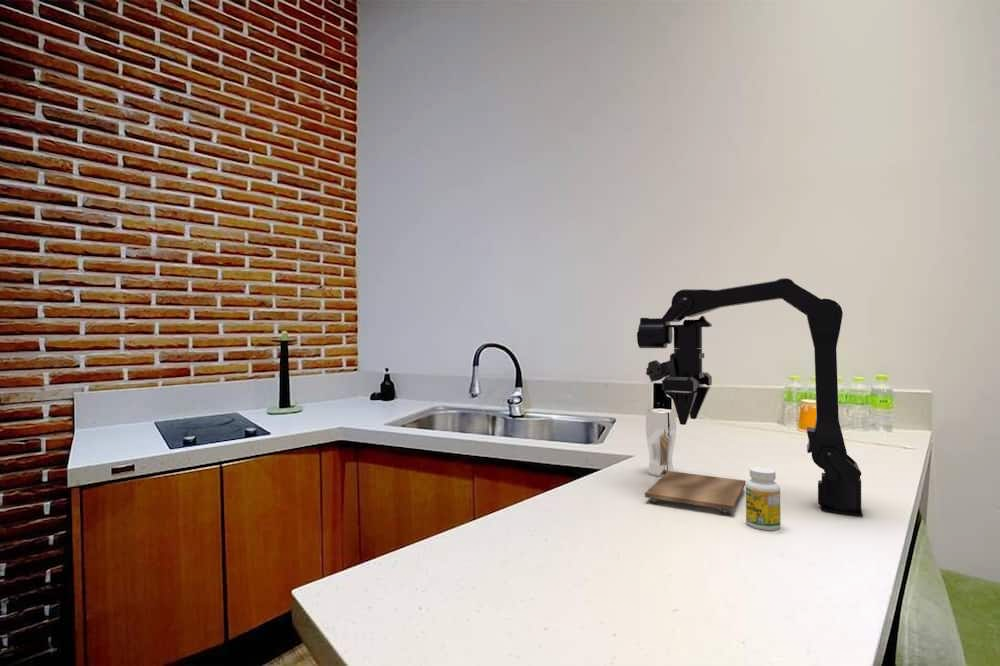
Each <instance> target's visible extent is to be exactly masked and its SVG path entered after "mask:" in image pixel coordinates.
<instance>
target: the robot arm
mask: <svg viewBox="0 0 1000 666" xmlns="http://www.w3.org/2000/svg"><path fill="white" fill-rule="evenodd" d="M776 300H783V301H785V302H786V303H787V304H788V305H790V306H792V307H793V308H795V309H796V310H798V311H799V312H800V313H802V314H804V315H805V316H806V320H807V324H808V328H809V332H810V337H811V342H812V344H813V349H814V377H815V379H814V381H815V384H814V385H815V406H816V407H815V408H816V409H815V413H816V417H815V424H814V427H810V426H806V434H807V437H808V443H807V445H806V451H807V454H810V453H811V459H812V461H813V462H814V464H815V465H816V466H817V467H818V468H819V469H822V471H823V472H821V480H820V479H819V480H817V504H818V505H819V506H820V511H824V512H829V513H836V514H844V515H852V516H857V517H862V516H863V517H864V514H863V510H862V479H861V476H862V471H861V469H860V467H859V465H858V462H856V461H855V460H854V459H853V458H852V457H851V456H850V455H849V454H848V452H847V447H846V445H845V440H844V436H843V432H842V427H841V424H840V419H839V415H840V414H839V390H838V389H839V387H838V358H837V357H838V356H837V347H838V341H839V338H840V332H841V328H842V327H841V326H842V321H843V313H844V312H843V309H842V307H841V305H840V303H838V302H836V301H835V300H833V299H831V298H819V297H818V296H817V295H815V294H813V293H812V292H810V291H808V290H807V289H805V288H803V287H801V286H799V285H798V284H796V283H795V282H794V281H793V280H792V279H791V278H787V277H782V278H778V279H776V280H769V281H764V282H759V283H757V282H756V283H752V284H751V283H750V284H746V285H738V286H734V287H728V288H727V287H726V288H721V289H720V288H719V289H701V288H700V289H699V288H698V289H697V288H693V289H692V288H689V289H688V288H687V289H686V288H685V289H680V290H678V291H677V292H675V294H674V295H673V297H672V299H671V306H670V307H669V308H668V309H667V311H666V312H665V313H664V315H663V316H662V317H660V318H657V317H656V318H655V317H654V318H650V317H640V318H639V322H640V323H638V324H639V325H638V329H637V332H636V340H637V345H638V348H639V349H667V348H668V345H671V344H672V342H673V353H670V355H669V360H667V361H665V362H661V363H660V361H658V360H657V359H656V360H652V361H649V362H648V364H647V368H645V369H646V372H645V375H646V376H648V377H649V380H650V382H651V383H653V382H657V381H659V380H661V390H662V391H664V394H665V395H667V396H668V397H670V398H671V399H672V401H673V404H674V407H675V412H676V415H677V419H678V422H679V425H682V426H684V425H685V426H686V425H687V422H688V419H689V417H690V419H691V420H696V419H697V418H698V415H699V413H700V410H701V409H702V406H703V404H704V401H705V399H706V397H707V394H708V392H709V390H710V389H711V386H712V382H713V381H712V380H713V378H712V375H710V373H709V372H706V371H705V372H703V359H705V353H704V352H703V328H711V327H712V326H713V324H712V323H711V322H710V321H709V320H707V319H706V317H705V316H704V314H706V313H707V314H708V313H710V312H712V311H716V310H719V309H720V308H727V307H733V306H735V307H736V306H741V305H748V304H754V303H761V302H768V301H770V302H771V301H776ZM698 316H700V317H699V318H698V319H686V318H694V317H698ZM681 321H683V322H682V324H671V323H679V322H681ZM704 385H706V386H704Z"/></svg>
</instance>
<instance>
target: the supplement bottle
mask: <svg viewBox="0 0 1000 666" xmlns="http://www.w3.org/2000/svg"><path fill="white" fill-rule="evenodd" d="M749 476H750V478H751V479H749V480H747V481H746V485H745V513H746V514H745V519H746V521H745V522H746V524H747V525H748V526H749V527H751V528H754V529H757V530H763V531H777V530H779V529H780V528H781V522H782V521H781V520H782V517H781V487H780V485H779V484H778V482H776V481H775V480H776V478H777V477H776V471H775V470H774V469H772V468H768V467H767V468H766V467H757V466H756V467H750V468H749Z"/></svg>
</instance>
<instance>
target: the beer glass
mask: <svg viewBox="0 0 1000 666" xmlns="http://www.w3.org/2000/svg"><path fill="white" fill-rule="evenodd" d="M645 417H646V418H645V436H646V442H647V449H648V456H649V458H648V459H649V460H648V461H649V462H648V467H647V473H648V474H649V475H651V476H656V477H663V476H664V475H665V474H666V473H667V472H668V471H673V472H675V470H674V469H675V468H674V465H673V464H674V463H673V456H674V455H673V454H674V449H675V443H676V437H677V419H676V410H674V409H668V408H648V409H646V416H645Z"/></svg>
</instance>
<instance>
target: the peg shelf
mask: <svg viewBox="0 0 1000 666" xmlns="http://www.w3.org/2000/svg"><path fill="white" fill-rule="evenodd" d="M746 483H747V481H746V480H744V479H735V478H727V477H719V476H712V475H711V476H710V475H704V474H697V473H696V474H695V473H687V472H679V471H674V472H673V471H668V472H667V473H666V474H665V475H664V476H661V477H660V478H659V479H658V480H657V481H656V482H655V483H653V485H652V486H651V487H649V488H648V489H647V490H646V491H645V492H644V497H645V498H647V499H648V498H649V504H654V505H655V504H656V505H659V504H660V500H662V501H668V502H675V503H676V502H677V503H682V504H687V505H696V506H703V507H707V508H708V507H709V508H715V509H719V510H720V511H719V512H720V514H721V515H724V516H730V515H731V513H732V511H734V509H735V507H736V505H737V503H738V501H739V499H740V497H741V495H742V493H743V491H744V489H745V488H746Z"/></svg>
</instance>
